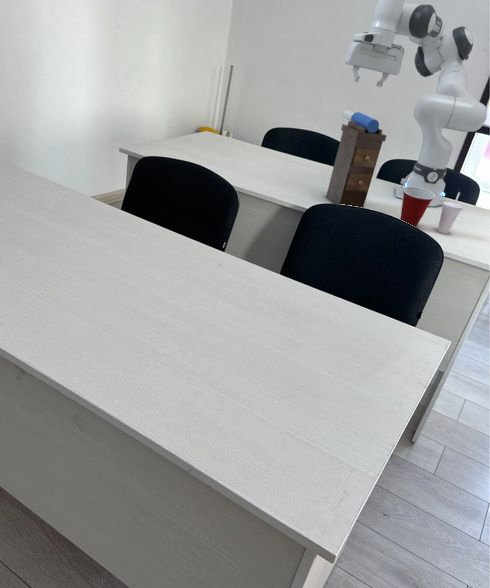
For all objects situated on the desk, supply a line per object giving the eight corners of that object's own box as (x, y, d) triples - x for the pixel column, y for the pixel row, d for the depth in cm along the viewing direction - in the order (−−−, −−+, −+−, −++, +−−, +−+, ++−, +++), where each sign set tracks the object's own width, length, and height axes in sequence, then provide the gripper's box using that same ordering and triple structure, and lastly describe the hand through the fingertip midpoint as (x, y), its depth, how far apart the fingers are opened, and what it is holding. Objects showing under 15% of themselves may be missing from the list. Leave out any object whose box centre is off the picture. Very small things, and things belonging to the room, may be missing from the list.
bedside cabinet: (324, 196, 218) (343, 119, 203) (349, 198, 221) (371, 122, 206) (340, 209, 206) (362, 129, 192) (367, 211, 210) (390, 132, 195)
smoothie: (453, 236, 198) (469, 196, 191) (434, 232, 199) (449, 192, 192) (450, 230, 204) (465, 191, 197) (432, 226, 205) (446, 187, 197)
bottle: (339, 119, 212) (342, 106, 210) (350, 120, 213) (353, 108, 211) (365, 132, 196) (369, 119, 194) (376, 133, 197) (380, 120, 195)
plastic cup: (391, 225, 199) (402, 191, 193) (393, 216, 208) (403, 183, 202) (423, 233, 197) (436, 198, 190) (423, 224, 206) (435, 191, 199)
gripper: (401, 46, 203) (388, 89, 209) (349, 33, 197) (338, 77, 203) (410, 47, 198) (397, 90, 204) (358, 34, 192) (345, 79, 198)
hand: (367, 84), depth 203 cm, fingers open, 8 cm apart
